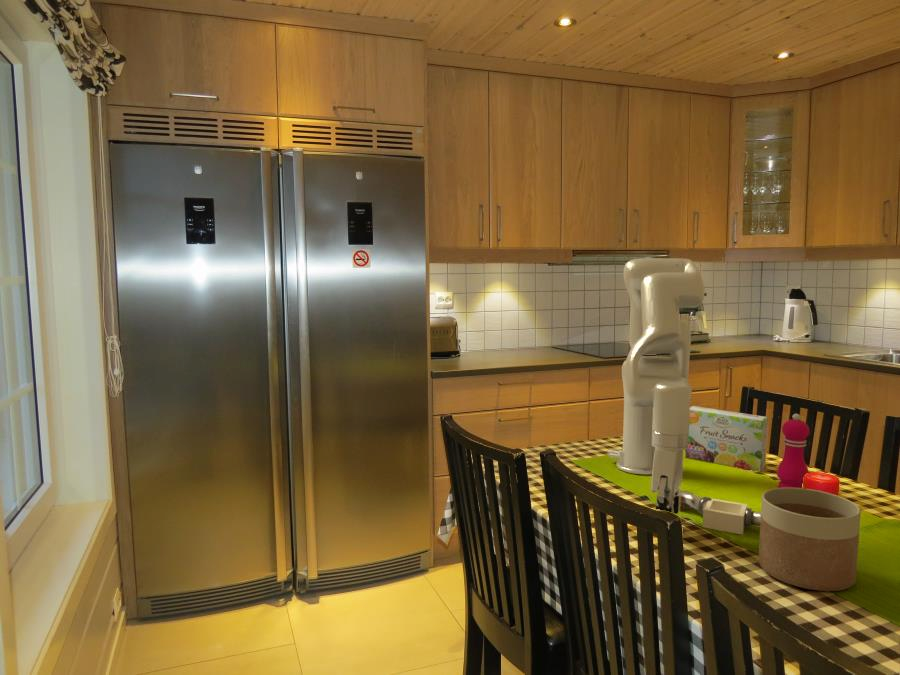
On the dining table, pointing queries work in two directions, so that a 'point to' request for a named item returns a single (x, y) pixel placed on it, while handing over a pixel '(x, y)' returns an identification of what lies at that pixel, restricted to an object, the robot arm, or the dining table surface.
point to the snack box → (727, 438)
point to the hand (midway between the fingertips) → (667, 517)
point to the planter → (809, 538)
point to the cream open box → (724, 516)
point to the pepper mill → (793, 454)
